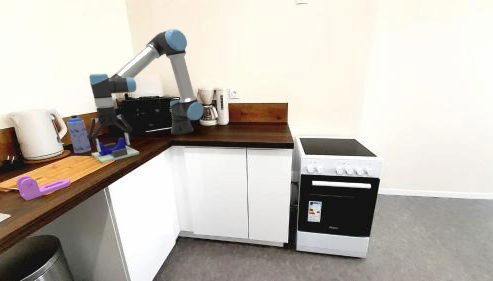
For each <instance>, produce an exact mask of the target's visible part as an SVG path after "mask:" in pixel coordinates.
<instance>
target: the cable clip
mask: <svg viewBox="0 0 493 281" xmlns="http://www.w3.org/2000/svg"><path fill="white" fill-rule="evenodd" d="M103 145H104V143H103V142H99V146H100V150H101V152H99V154H100V155H102V156H105V155H108V154H112V151H115V150H119V149H124V148H126V146H127V145H126V140H125V138H124V137H119V138H118V142H117V143H116V146H115V147H114V148H111V149H107V148H105V147H104V146H103Z"/></svg>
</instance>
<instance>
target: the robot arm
mask: <svg viewBox="0 0 493 281" xmlns="http://www.w3.org/2000/svg"><path fill="white" fill-rule="evenodd" d="M187 46H188V40H187V38H186V36H185V34H184V33H183V32H182V31H181V30H179V29H176V28H173V29H172V28H171V29H168V30H166V31H165V30H164V31H163V32H159V33H158V34H156V35H155V36H154V37H153V38H151V40H150V41H149V42H147V43H146V44H145V48H144V49H143V50H141V51H140V52H139V53H138V54H136V56H134V57H133V58H132V59H130V61H128V62H127V63H126V64H125V65H124V66H122V67H121V68H120V69H119V70H118V71H116V72H115V74H113V75H111V76H110V77H109V76H108V74H107V73H91V74H89V75H88V77H89V85H90V87H91V90H92V91H91V92H92V96H93V99H94V103H95V107H96V113H97V118H93V117H91V119H90V126H89V129H88V131H87V138H88V139H89V140H92V141H91V142H92V143H93V146H96V150H97V152H101V150H100V146H99V143H100V142H99V141H100V140H99V139H98V136H99V134H100V133H101V131H102V130H103V128H104V127H108V126H114V125H115V126H117V127H118V128H120V129H121V130H122V131H124V133H123V134H124V137H125V138H124V139H125V144H126V146H130V145H131V143H130V139H131V132H133V130H134V129H133V128H132V126H131V125H130V124H129V122H127V120H126V119H125V117H124V115H123V114H120V113H119V114H118V115H117V113H116V109H115V108H116V107H115V106H114V100H113V99H114V98H113V94H114V95H115V94H125V93H127V94H128V93H134V92H136V91H137V82H136V80H135V79H134V78H135V77H137V76H138V75H139V74H140V73H141V72H142V71H143V70H145V69H146V68H147V67H148V66H149V65H150V64H151V63H152V62H153V61H155V59H160V57H162V56H163V55H165V57H166V58H167V59H168V60H170V61H169V62H170V65H171V67H172V68H171V70H172V71H173V75H174V79H175V82H176V86H177V89H178V93H179V97H180V99H176V100H171V101H170V103H169V105H170V113H171V119H172V120H171V122H172V125H171V129H170V130H171V131H170V132H171V135H175V136H176V135H188V134H191V133H193V132H194V128H193V126H192V124H191V121H196V120H200V118H202V116H203V114H204V106H203V104H202V103H200V102H199V100H198V97H197V96H196V95H195V93H194V89H193V86H192V82H191V79H190V75H189V70H188V66H187V62H186V58H185V55H186V54H187V51H186V48H187ZM117 120H120V121H121V122H122V123H123V124H124V126H123V125H122V124H121V123H120V122H118V121H117ZM98 122H99V124H98V127H96V130H95V126H96V124H97V123H98ZM94 130H95V131H94Z"/></svg>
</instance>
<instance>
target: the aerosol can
mask: <svg viewBox="0 0 493 281" xmlns="http://www.w3.org/2000/svg"><path fill="white" fill-rule="evenodd" d="M66 125H67V128H68V131H69V136H70V140H71V144H72V147H73V152H74V153H75V154H82V153H86V152H90V151H91V150H92V147H91V143H90V139H88V138H87V135H88V131H87V128H86V125H85V121H84V119H82V118H80V117H78V116H77V115H74V114H73V115H71V118H69V119H68V121H67V122H66Z"/></svg>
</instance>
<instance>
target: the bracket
mask: <svg viewBox="0 0 493 281" xmlns="http://www.w3.org/2000/svg"><path fill="white" fill-rule="evenodd" d="M71 184H72V183H71V181H70V179H68V178H66V179H59V180H55V181H53V182H50V183H47V184H45V185H41V186H39V183H38V181H37V180H36V179H34V178H32V177H31V176H29V175H22V176H19V177H18V178H17V179H16V186H17V188H18V190H19V191H18V192H19V194H20V196H21V198H23V199H24V200H25V201H30V200H33V199H36V198H38V197H42V196H44V195H47V194H49V193H52V192H55V191H57V190H60V189H63V188H66V187H68V186H70V185H71ZM48 187H49V188H48Z"/></svg>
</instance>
